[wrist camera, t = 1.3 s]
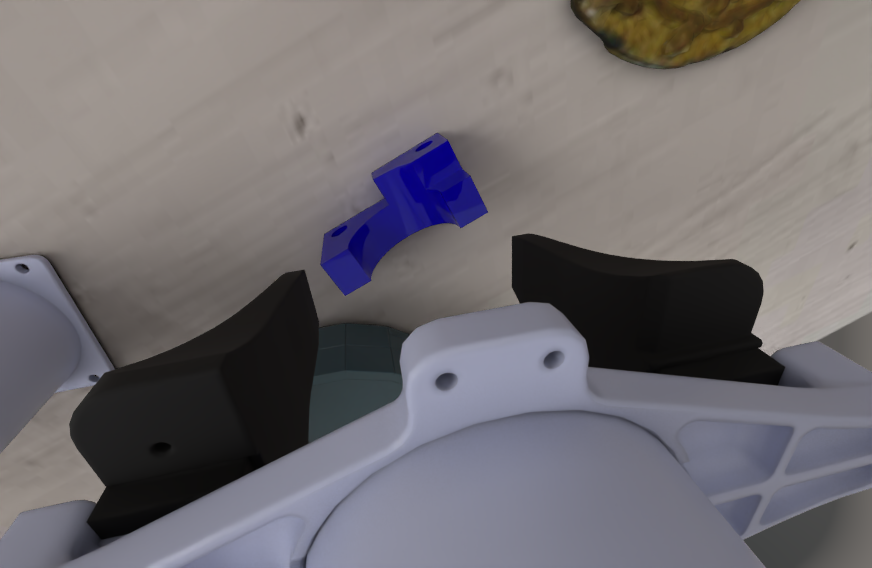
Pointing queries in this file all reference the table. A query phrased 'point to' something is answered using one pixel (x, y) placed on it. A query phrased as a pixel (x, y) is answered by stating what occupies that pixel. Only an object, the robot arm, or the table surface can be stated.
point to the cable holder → (401, 210)
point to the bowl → (353, 374)
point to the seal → (677, 27)
